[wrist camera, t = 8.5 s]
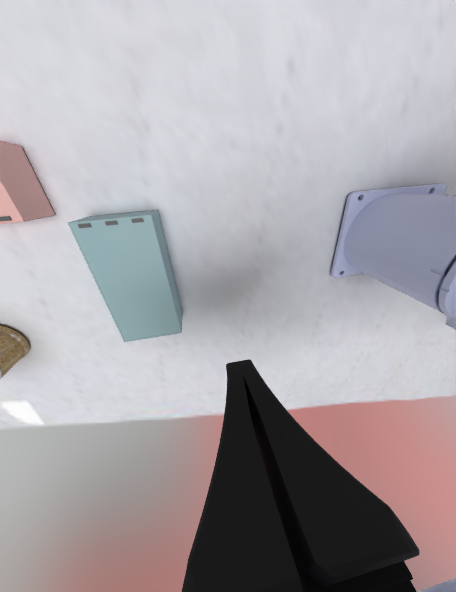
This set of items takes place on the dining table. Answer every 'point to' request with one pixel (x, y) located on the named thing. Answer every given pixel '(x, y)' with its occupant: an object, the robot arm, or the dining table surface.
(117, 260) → the teal elongated prism
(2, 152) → the stub
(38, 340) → the dining table surface
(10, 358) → the sprinkles bottle
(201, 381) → the dining table surface
